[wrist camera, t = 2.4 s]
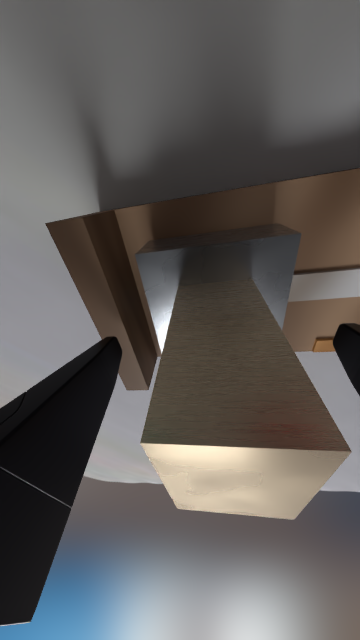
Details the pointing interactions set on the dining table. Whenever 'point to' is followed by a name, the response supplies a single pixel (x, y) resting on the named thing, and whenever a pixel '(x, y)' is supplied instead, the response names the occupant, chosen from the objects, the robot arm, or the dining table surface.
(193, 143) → the dining table surface
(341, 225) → the base
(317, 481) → the handle
